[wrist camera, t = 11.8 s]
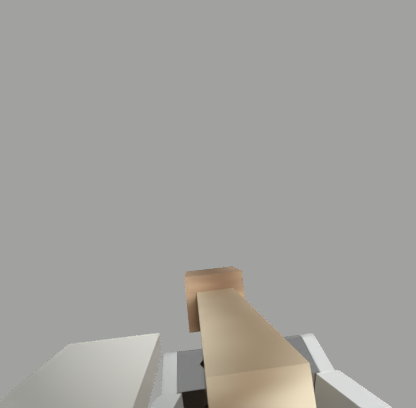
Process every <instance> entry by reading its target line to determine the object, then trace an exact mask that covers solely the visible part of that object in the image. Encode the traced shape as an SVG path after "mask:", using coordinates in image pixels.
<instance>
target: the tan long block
mask: <svg viewBox="0 0 416 408" xmlns="http://www.w3.org/2000/svg"><path fill="white" fill-rule="evenodd" d="M185 287H186V298H187V309H188V320H189V330H190V332H199V331H200V332H201V341H202V349H203V358H204V368H205V378H206V387H207V398H208V408H316V402H315V395H314V388H313V382H312V375H311V368H310V363H309V362H308V361H307V360H306V359H305V358H304V357H303V356H302V355H301V354H300V353H299V352H298V351H297V350H296V349H295V348H294V347H293V346H292V345H291V344H290V343H289V342H288V341H287V340H286V339H285V338H284V337H283V336H282V335H281V334H280V333H279V332H278V331H277V330H276V329H275V328H274V327H273V326H272V325H271V324H269V323H268V322H267V321H266V320H265V319H264V318H263V317H262V316H261V315H260V314H259V313H258V312H257V311H256V310H255V309H254V308H253V307H252V306H251V305H250V304H249V303H248V302H247V301H246V300H245V296H244V288H243V279H242V271H241V270H239V269H237V268H234V267H223V268H214V269H206V270H197V271H188V272H186V274H185Z"/></svg>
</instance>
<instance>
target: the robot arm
mask: <svg viewBox="0 0 416 408" xmlns="http://www.w3.org/2000/svg"><path fill="white" fill-rule="evenodd" d="M284 338H285V339H286V340H287V341H288V342H289V343H290V344H291V345H292V346H293V347H294V348H295V349H296V350H297V351H298V352H299V353H300V354H301V355H302V356H303V357H304V358H305V359H306V360H307V361H308V362H309V363H310V368H311V375H312V382H313V388H314V395H315V402H316V408H392V407H390V406H389V405H387V404H386V403H385V402H383V401H382V400H381V399H379V398H378V397H376V396H375V395H374V394H372V393H370V392H369V391H368V390H366V389H365V388H364V387H362V386H361V385H359V384H358V383H356V382H355V381H353V380H352V379H351V378H349V377H347V376H346V375H345V374H344V373H342V372H340V371H339V370H334V368H333V367H332V365H331V363H330V361H329V360H328V358H327V356H326V355H325V353H324V351H323V349H322V348H321V346H320V344H319V342H318V341H317V339H316V337H315V336H314V335H313V334H312V333H311V334H305V335H296V336H289V337H284ZM150 408H208V398H207V387H206V378H205V368H204V358H203V349H197V350H189V351H179V352H171V353H164V357H163V374H162V393H161V396H158V397H157V398H156V399H155V401H154V402H153V404H152V406H151V407H150Z"/></svg>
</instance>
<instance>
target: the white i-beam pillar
mask: <svg viewBox="0 0 416 408" xmlns="http://www.w3.org/2000/svg"><path fill="white" fill-rule="evenodd" d="M160 359H161V346H160V333H154V334H146V335H138V336H130V337H122V338H114V339H105V340H97V341H90V342H82V343H73V344H69V345H67V346H66V347H65V348H64V349H62V350H61V351H60V352H59V353H57V354H56V355H55V356H54V357H53V358H51V359H50V360H49V361H48V362H47V363H45V364H44V365H43V366H41V367H40V368H39V369H38V370H36V371H35V372H34V373H33V374H32V375H30V376H29V377H28V378H27V379H25V380H24V381H23V382H22V383H20V384H19V385H18V386H17V387H15V388H14V389H13V390H12V391H11V392H9V393H8V394H7V395H6V396H4V397H3V398H2V399H1V400H0V408H147V407H148V403H149V400H150V396H151V392H152V389H153V385H154V381H155V377H156V373H157V370H158V366H159V362H160Z"/></svg>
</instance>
